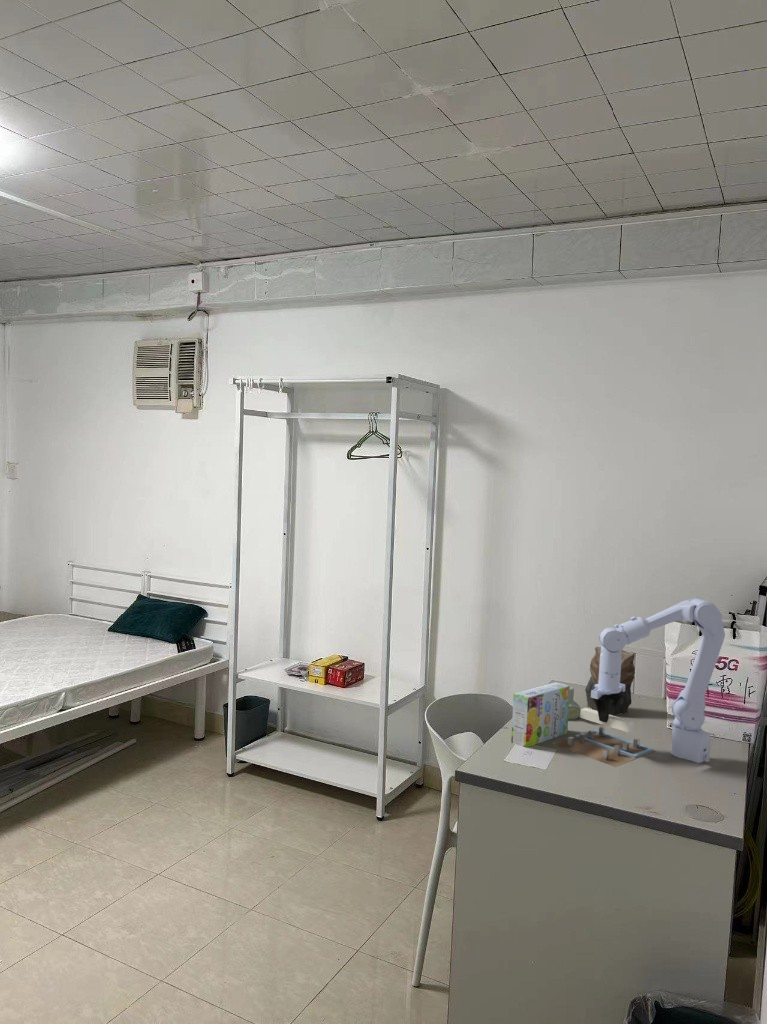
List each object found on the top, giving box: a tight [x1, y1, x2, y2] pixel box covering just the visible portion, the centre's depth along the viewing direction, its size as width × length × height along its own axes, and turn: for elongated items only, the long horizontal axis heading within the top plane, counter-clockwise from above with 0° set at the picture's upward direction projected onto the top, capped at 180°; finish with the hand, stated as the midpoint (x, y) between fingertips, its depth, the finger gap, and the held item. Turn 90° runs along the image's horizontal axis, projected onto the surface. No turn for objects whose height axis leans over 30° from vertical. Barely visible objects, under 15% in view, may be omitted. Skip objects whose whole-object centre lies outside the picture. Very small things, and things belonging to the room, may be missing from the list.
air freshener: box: [568, 685, 582, 720], centre depth 237 cm, size 11×8×10 cm
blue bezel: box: [573, 729, 654, 758], centre depth 213 cm, size 19×10×1 cm, turn 42°
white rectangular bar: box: [579, 707, 635, 733], centre depth 209 cm, size 15×3×2 cm, turn 42°
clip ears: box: [567, 726, 641, 760], centre depth 210 cm, size 12×17×2 cm
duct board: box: [550, 733, 656, 768], centre depth 210 cm, size 20×21×1 cm
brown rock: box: [585, 646, 636, 715], centre depth 249 cm, size 13×13×20 cm
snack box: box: [510, 681, 571, 748], centre depth 215 cm, size 21×6×15 cm, turn 134°
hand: (606, 720), depth 210 cm, fingers closed on white rectangular bar, 3 cm apart
